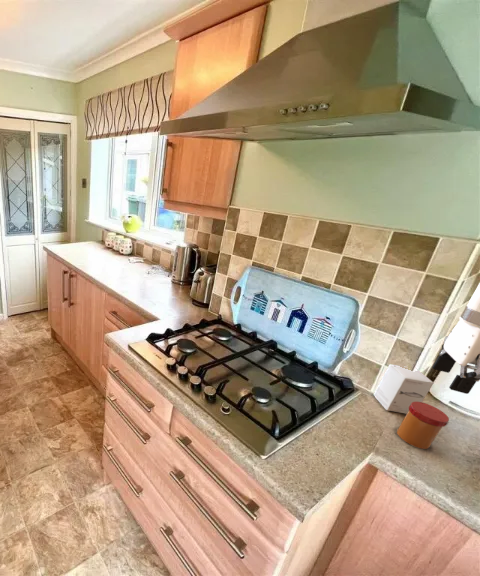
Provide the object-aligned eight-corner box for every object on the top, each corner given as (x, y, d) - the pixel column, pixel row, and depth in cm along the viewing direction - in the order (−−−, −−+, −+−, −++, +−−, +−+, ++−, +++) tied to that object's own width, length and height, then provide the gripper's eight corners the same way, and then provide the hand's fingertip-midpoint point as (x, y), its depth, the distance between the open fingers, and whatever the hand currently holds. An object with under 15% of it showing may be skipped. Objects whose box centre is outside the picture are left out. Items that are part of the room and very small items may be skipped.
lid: (442, 415, 82) (445, 410, 81) (449, 431, 76) (452, 426, 76) (406, 402, 86) (409, 397, 85) (410, 417, 80) (413, 412, 80)
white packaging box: (386, 411, 94) (404, 377, 89) (372, 394, 100) (388, 363, 95) (414, 416, 92) (434, 383, 87) (398, 399, 99) (416, 367, 94)
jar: (426, 437, 85) (443, 411, 81) (431, 453, 80) (449, 426, 76) (395, 425, 88) (410, 399, 85) (398, 439, 84) (413, 413, 80)
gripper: (538, 341, 61) (490, 408, 68) (487, 309, 75) (451, 366, 82) (485, 331, 64) (445, 395, 71) (445, 301, 79) (415, 358, 85)
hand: (448, 380), depth 76 cm, fingers open, 8 cm apart
